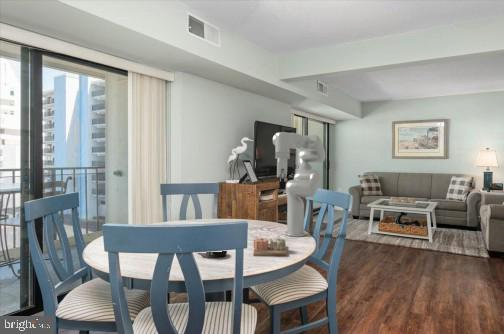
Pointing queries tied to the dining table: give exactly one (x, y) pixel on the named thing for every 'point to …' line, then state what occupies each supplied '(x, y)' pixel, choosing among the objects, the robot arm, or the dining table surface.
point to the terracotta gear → (260, 244)
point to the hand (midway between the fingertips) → (282, 188)
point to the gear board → (270, 252)
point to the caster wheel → (219, 254)
